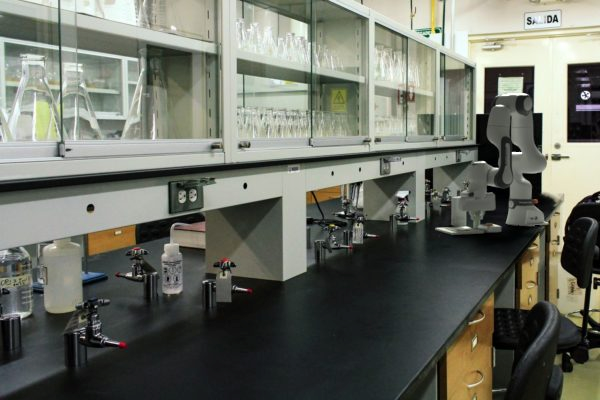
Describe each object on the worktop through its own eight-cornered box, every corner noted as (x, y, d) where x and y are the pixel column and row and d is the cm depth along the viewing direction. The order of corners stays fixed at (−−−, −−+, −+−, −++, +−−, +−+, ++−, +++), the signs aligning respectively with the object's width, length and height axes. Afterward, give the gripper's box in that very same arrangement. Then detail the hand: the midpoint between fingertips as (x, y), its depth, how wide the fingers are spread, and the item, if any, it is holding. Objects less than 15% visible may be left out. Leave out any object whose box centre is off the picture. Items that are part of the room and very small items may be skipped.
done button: (490, 227, 314) (490, 222, 313) (494, 228, 311) (494, 223, 310) (485, 228, 313) (485, 223, 312) (488, 228, 310) (489, 224, 309)
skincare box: (466, 227, 326) (467, 197, 324) (453, 226, 326) (454, 197, 324) (462, 224, 334) (463, 196, 333) (450, 224, 334) (451, 196, 333)
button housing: (491, 229, 317) (491, 223, 316) (501, 232, 309) (501, 226, 309) (478, 230, 314) (478, 224, 314) (487, 232, 307) (487, 226, 306)
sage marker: (477, 227, 323) (478, 206, 322) (481, 228, 320) (481, 207, 319) (471, 227, 322) (472, 206, 321) (475, 228, 319) (476, 207, 318)
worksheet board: (465, 228, 321) (466, 226, 321) (483, 233, 306) (484, 230, 306) (435, 229, 316) (435, 227, 316) (452, 234, 301) (452, 232, 301)
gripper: (491, 191, 325) (490, 217, 327) (457, 192, 319) (456, 219, 321) (498, 192, 319) (497, 219, 321) (463, 194, 313) (463, 221, 315)
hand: (476, 219), depth 321 cm, fingers closed on sage marker, 3 cm apart
